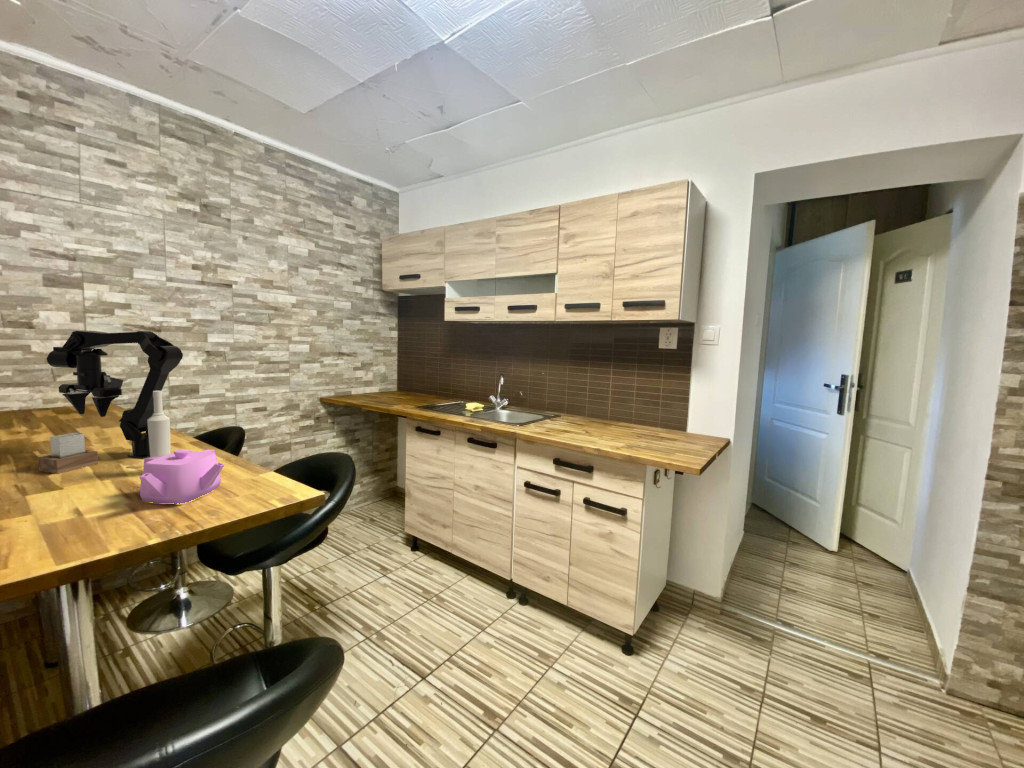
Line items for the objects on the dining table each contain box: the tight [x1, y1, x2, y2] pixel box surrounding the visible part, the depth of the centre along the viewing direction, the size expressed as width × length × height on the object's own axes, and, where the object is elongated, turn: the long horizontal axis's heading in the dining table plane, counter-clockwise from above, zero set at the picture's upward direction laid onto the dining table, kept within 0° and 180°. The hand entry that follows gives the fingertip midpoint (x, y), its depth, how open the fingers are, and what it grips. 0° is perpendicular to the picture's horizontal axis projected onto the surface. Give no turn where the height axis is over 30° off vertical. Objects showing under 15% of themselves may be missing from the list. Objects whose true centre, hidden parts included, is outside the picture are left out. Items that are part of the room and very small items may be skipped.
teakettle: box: [139, 448, 225, 504], centre depth 108 cm, size 17×17×12 cm
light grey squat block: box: [49, 432, 86, 459], centre depth 122 cm, size 4×6×9 cm, turn 169°
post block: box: [37, 449, 99, 475], centre depth 122 cm, size 7×10×4 cm
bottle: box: [147, 391, 172, 457], centre depth 122 cm, size 5×5×25 cm
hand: (92, 415), depth 135 cm, fingers open, 9 cm apart
